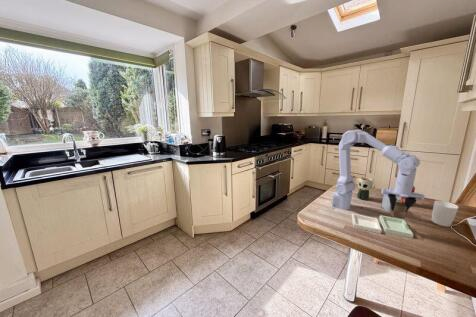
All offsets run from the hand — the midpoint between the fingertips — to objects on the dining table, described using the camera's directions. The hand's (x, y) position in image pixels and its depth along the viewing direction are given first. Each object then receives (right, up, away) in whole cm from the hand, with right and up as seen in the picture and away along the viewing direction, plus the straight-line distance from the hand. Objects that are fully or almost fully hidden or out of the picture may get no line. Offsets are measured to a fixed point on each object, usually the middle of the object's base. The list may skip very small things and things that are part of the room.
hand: (398, 210), depth 87 cm
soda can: (+25, -3, +26) cm, 36 cm away
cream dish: (-12, -9, +5) cm, 16 cm away
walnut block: (0, -3, +1) cm, 3 cm away
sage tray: (0, -9, +2) cm, 9 cm away
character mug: (+5, -1, +33) cm, 34 cm away
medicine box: (+10, -5, +18) cm, 21 cm away
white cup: (+27, -8, +7) cm, 29 cm away
